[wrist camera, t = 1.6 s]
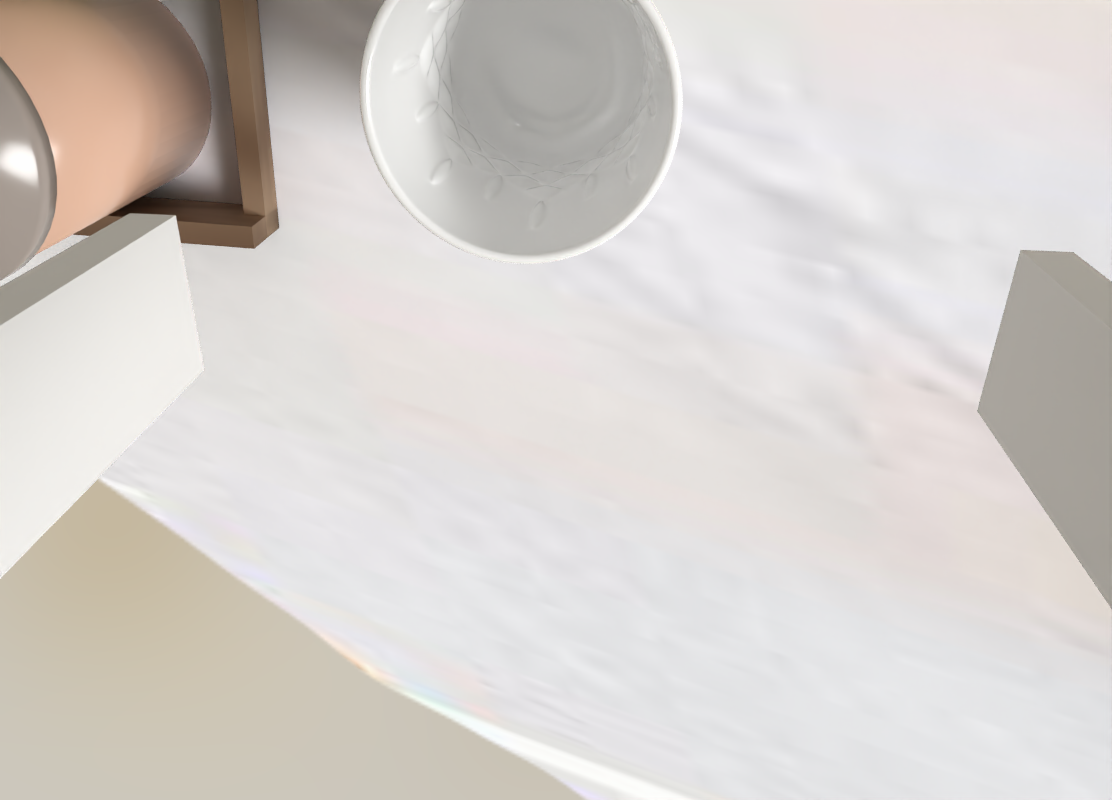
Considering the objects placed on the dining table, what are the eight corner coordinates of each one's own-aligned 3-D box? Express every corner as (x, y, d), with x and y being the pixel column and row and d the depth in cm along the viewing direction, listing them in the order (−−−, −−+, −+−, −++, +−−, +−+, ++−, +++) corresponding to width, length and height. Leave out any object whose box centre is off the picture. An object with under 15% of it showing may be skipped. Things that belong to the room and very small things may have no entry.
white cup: (450, 173, 33) (380, 265, 24) (428, -70, 29) (336, -67, 20) (668, 170, 32) (677, 263, 23) (673, -80, 28) (687, -81, 20)
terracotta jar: (-23, -41, 31) (-321, -26, 21) (200, -28, 30) (-2, -5, 21) (28, 185, 34) (-206, 285, 25) (227, 200, 34) (67, 307, 25)
